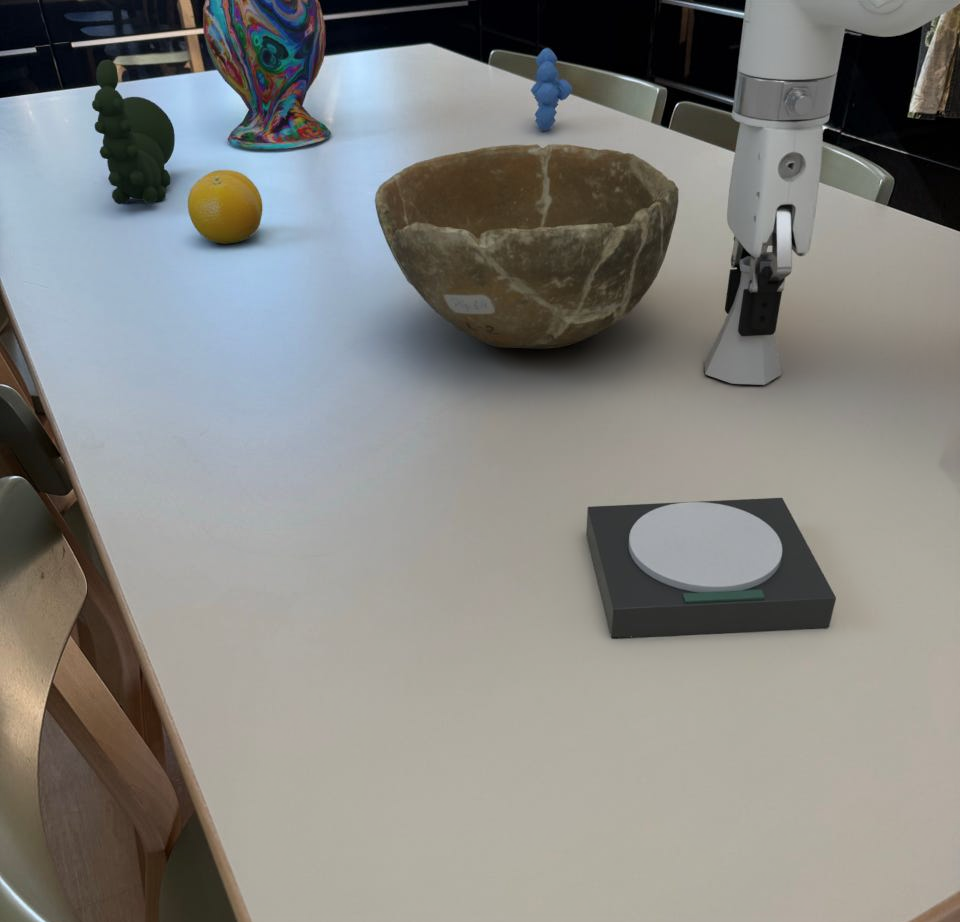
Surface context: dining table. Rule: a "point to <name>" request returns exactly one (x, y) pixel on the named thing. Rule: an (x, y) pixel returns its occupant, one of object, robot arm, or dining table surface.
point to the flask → (742, 346)
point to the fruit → (225, 206)
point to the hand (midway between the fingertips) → (749, 321)
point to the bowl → (529, 238)
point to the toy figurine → (132, 140)
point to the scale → (705, 568)
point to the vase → (269, 66)
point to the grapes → (548, 89)
